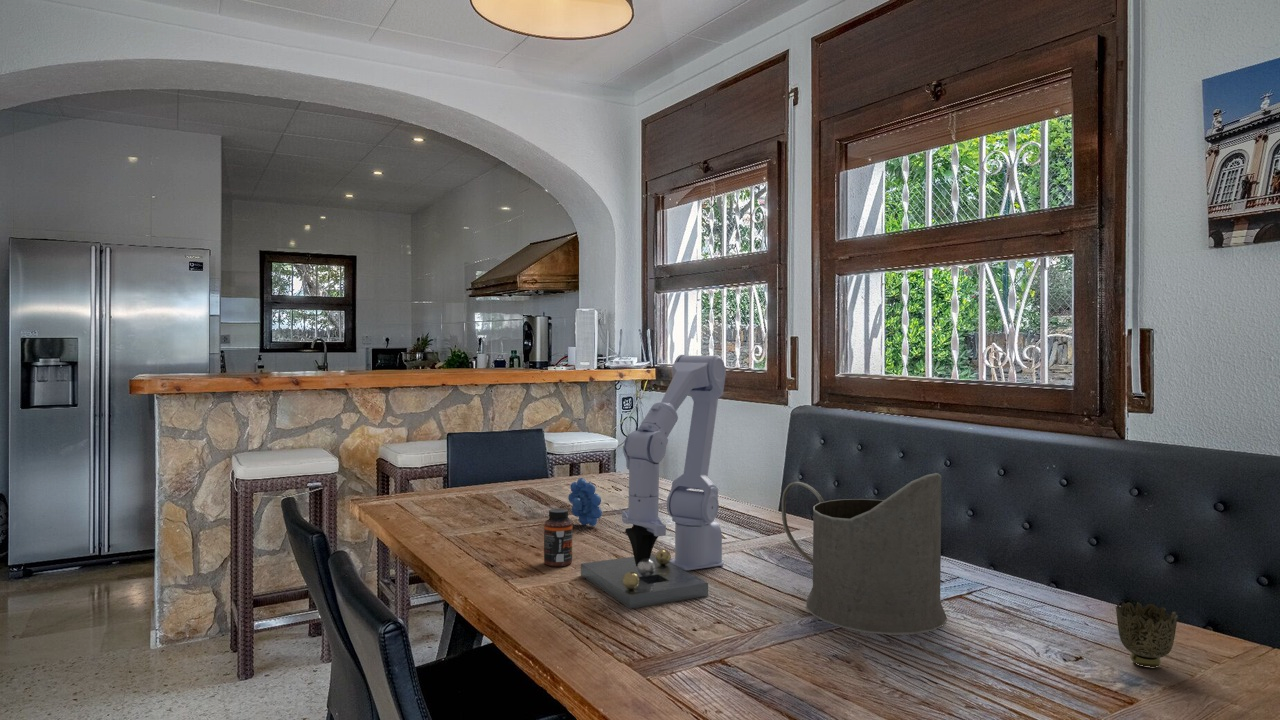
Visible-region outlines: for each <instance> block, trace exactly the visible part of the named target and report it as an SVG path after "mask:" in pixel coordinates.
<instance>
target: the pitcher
mask: <svg viewBox="0 0 1280 720" xmlns="http://www.w3.org/2000/svg"><path fill="white" fill-rule="evenodd" d="M794 485H797V486H801V487H804V488H806V489H807V490H809V491H810V492H811V493H812V494H814V496H815V497H816V498H817V500H818V503H816V504H815V505H813V507H812V509H813V511H812V513H813V516H812V517H813V518H812V519H813V523H812V524H813V525H812V526H813V527H812V528H813V529H812V531H813V532H812V533H813V534H812V536H813V537H812V557H811V556H809V555H808V554H807V553H806V552H805V551H804V550H803V549H802V548H801V547H800V545H799V544H798V543H797V541H796V540H795V538H794V537H793V536H794V535H792V533H791V531H790V528H789V525H788V521H787V496H788V493H789V491H790V489H791V488H792V487H793V486H794ZM781 518H782V519H781V521H782V525H783V528H784V531H785V535H786V536H787V538H788V539H789V541H790V542H791V544H792V546H793V547H794V548H795V549H796V550H797V552H798V553H799V554H800V555H801V556H802V557H803V558H804V559H805V560H806V561H808V562H809V563H811V564H812V587H811V590H810V592H809V595H807V596H808V597H807V598H806V605H805V609H806V610H807V611H808V612H809V613H810V614H811V615H812V616H813V617H816V618H817V619H819V620H822V621H823V622H824V623H827V624H831V625H833V626H835V627H836V626H837V627H840V628H842V629H846V630H851V631H857V632H861V633H865V634H866V633H867V634H877V635H878V634H879V635H887V636H888V635H889V636H894V635H895V636H897V635H899V636H900V635H901V636H902V635H904V636H905V635H918V634H924V633H929V631H930V632H933V631H935V629H936V630H937V628H938V629H940V628H942V627H943V626H942V625H945V624H946V622H945V621H947V620H948V617H947V615H946V612H945V609H944V607H943V604H942V602H941V573H942V572H941V571H942V570H941V569H942V568H941V564H942V563H941V561H942V559H941V558H942V557H941V556H942V555H941V554H942V553H941V552H942V547H941V546H942V545H941V544H942V475H941V474H939V473H938V472H935V473H930V474H926V475H923V476H921V477H919V478H917V479H914V480H912V481H910V482H909V483H906V485H904V486H902V487H901V488H899V489H898V490H897V491H896V492H894V493H892V494H891V495H889V497H887V498H886V499H884V500H883V499H868V498H867V499H865V498H859V499H858V498H856V499H855V498H853V499H852V498H851V499H850V498H848V499H846V498H845V499H833V500H827V501H825V500H824V498H823V497H822V495H821V494H820V492H818V490H816V489H815V488H814V487H812V485H809V484H808V483H805V482H801V481H793V482H790V483H789V484H788V485H787V486H786V487H785V488H784V490H783V493H782V496H781ZM946 619H947V620H946ZM944 623H945V624H944ZM941 626H942V627H941ZM939 627H940V628H939ZM923 632H924V633H923Z"/></svg>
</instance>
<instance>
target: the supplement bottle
mask: <svg viewBox="0 0 1280 720" xmlns="http://www.w3.org/2000/svg"><path fill="white" fill-rule="evenodd" d="M543 524H544V526H543V527H544V531H543V533H544V534H543V535H544V536H543V563H544V564H545V565H546V566H549V567H557V568H558V567H559V568H560V567H566V566H570V564H572V561H573V529H574V528H573V521H572V520H571V519H570V518H569V509H568V508H552V509H551V508H550V509H549V510H548V519H547V520H545V522H544V523H543Z"/></svg>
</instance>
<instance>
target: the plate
mask: <svg viewBox="0 0 1280 720" xmlns="http://www.w3.org/2000/svg"><path fill="white" fill-rule="evenodd" d="M650 559H651V560H652V561H653V562H654V564H655V571H654V573H653V574H652V575H651V576H649V577H644V576H642V575H640V574H639V572H638V570H637V566H636V563H635V559H634V556H627V557H620V558H613V559H606V560H605V559H604V560H599V561H597V560H596V561H589V562H582V563H580V577H582V576H583V578H584V579H585V578H586V580H587V581H588V582H589V583H591V584H593V585H594V586H595V585H596V586H595V587H597V588H598V587H599V589H600V590H601V589H602V590H601V591H603V592H604V591H605V592H604V593H606V594H607V593H608V594H607V595H609V596H610V597H612V598H613V597H614V598H615V599H614V598H613V599H614V600H616V601H617V600H618V601H617V602H619V603H620V602H621V604H622V605H623V604H624V607H626V608H627V609H629V610H631V608H633V609H638V608H644V607H650V606H656V605H663V604H668V603H673V602H681V601H686V600H692V599H700V598H705V597H709V582H707V581H705V579H704V580H703V579H701V578H699V577H698V576H696V575H693V574H692V573H689V572H688V571H685V570H683V569H681V568H679V567H677V566H675V565H673V564H671V563H668V564H666V565H660V564H659V563H658V562H657V561H656V555H655V554H652V553H651V556H650ZM628 572H634V573H636V574H637V575H638V577H639V585H638V586H637V587H636V588H635V589H627V588H626V587H625V586H624V585H623V577H624V575H625V574H626V573H628Z"/></svg>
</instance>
